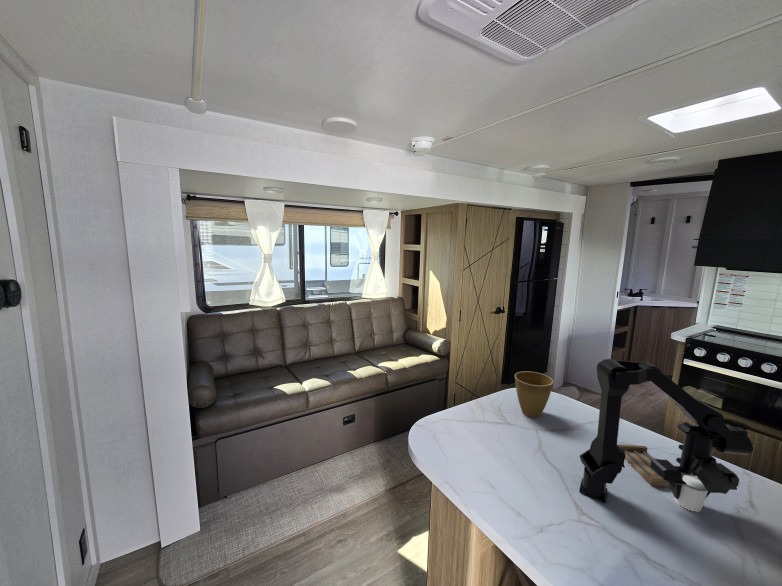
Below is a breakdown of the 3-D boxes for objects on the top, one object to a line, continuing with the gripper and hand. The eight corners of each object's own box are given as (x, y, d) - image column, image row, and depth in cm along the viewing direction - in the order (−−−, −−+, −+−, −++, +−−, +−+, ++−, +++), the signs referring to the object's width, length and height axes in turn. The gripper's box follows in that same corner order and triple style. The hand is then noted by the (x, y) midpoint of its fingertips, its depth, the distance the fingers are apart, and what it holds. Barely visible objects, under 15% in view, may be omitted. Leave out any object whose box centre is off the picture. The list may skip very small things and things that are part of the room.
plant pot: (538, 403, 143) (541, 370, 140) (557, 422, 128) (561, 385, 126) (506, 404, 142) (508, 371, 139) (522, 422, 127) (525, 385, 125)
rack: (682, 488, 94) (684, 479, 93) (650, 486, 94) (652, 477, 94) (644, 453, 109) (645, 446, 109) (617, 451, 110) (618, 444, 110)
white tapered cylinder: (687, 494, 91) (691, 472, 90) (712, 513, 85) (716, 490, 84) (664, 494, 91) (668, 472, 90) (687, 514, 84) (691, 491, 83)
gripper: (686, 466, 78) (676, 521, 80) (767, 471, 77) (755, 527, 79) (652, 439, 89) (645, 488, 91) (723, 443, 88) (713, 493, 90)
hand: (688, 498), depth 88 cm, fingers closed on white tapered cylinder, 6 cm apart
